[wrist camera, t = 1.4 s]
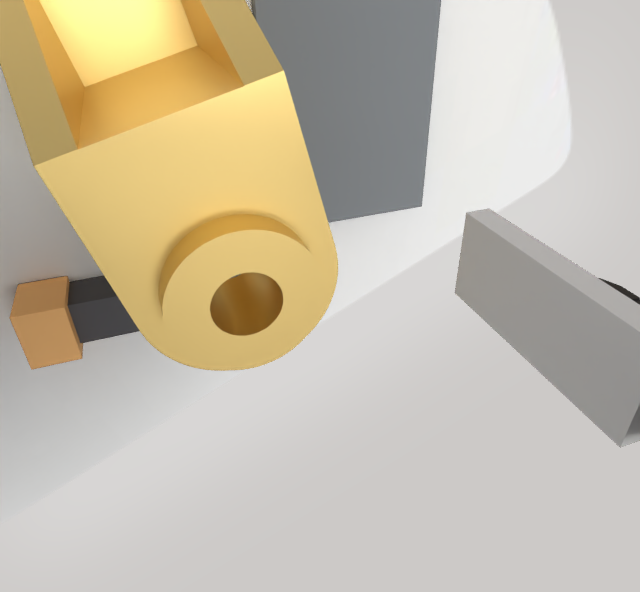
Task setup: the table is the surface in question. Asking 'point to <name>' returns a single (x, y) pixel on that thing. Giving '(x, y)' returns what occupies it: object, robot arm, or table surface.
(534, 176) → the table surface
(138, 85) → the gold clevis bracket
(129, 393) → the table surface
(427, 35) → the mat
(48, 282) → the dark grey bar
